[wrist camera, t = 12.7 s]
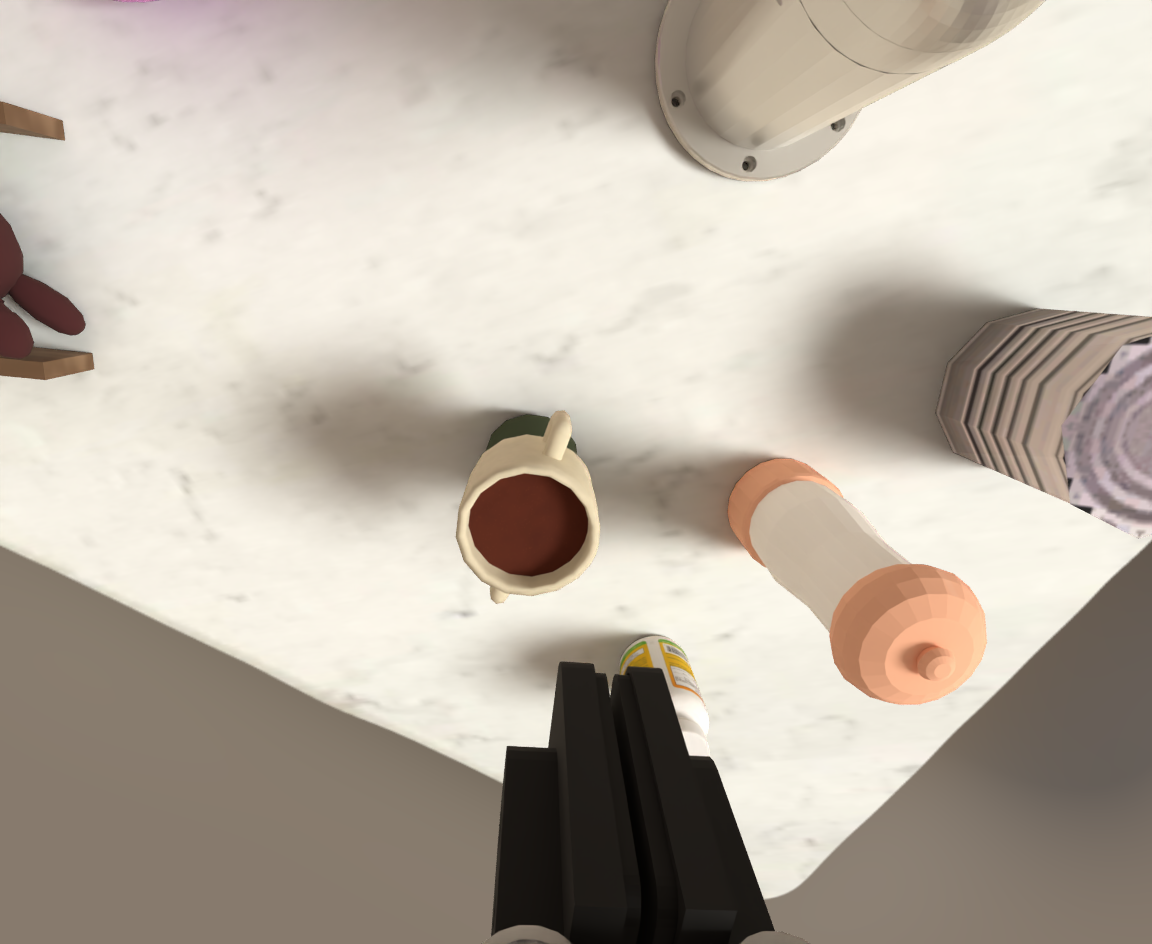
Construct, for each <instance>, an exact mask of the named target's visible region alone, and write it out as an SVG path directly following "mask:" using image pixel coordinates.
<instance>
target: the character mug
mask: <svg viewBox="0 0 1152 944" xmlns="http://www.w3.org/2000/svg"><path fill="white" fill-rule="evenodd" d="M571 433H572V427H571V421H570V416H569V415H568V414H567V413H566V412H565V411H556V412H555V413H554V414H553V415H552V416H551V418H548V417H544V416H536V415H528V414H526V415H523V416H519V417H516V418H513V419H510V420H506V421H505V422H504V423H503V424H502V425H501V426H500V427H499V428H498V429H497V430H496V431H495V432H494V433H493V434H492V435H491V438H490V440H489V443H488V446H487V449H486V452H484V453H483V454H482V456H481V457H480V459H479V461H478V462H477V464H476V466H475V467H474V469H473V471H472V472H471V474H470V477H469V480H468V483H467V486H466V489H465V492H464V495H463V498H462V500H461V503H460V506H459V512H458V521H457V530H456V539H457V542H458V545H459V548H460V551H461V554H462V557H463V560H464V562H465V563H466V564H467V565H468V566H469V568H470V569H471V570H472V571H473V572H474V573H475V574H476V576H477V577H478V578H479V579H480V580H481V581H482V582H484V583H486V584H488V585H490V595H491V599H492V600H493V601H494V602H495V603H496V604H499V603H503V602H504V601H505V600H506V599H507V597H508V596H509V594H517V595H526V596H534V595H539V594H543V593H548V592H553V591H557V590H559V589H561V588H562V587H564V586H566V585H567V584H569V583H571V582H573V581H574V580H576V579H578V578H579V577H580V576H581V574H582V573H583V572H584V571H585V570H586V569H587V568H588V567H589V566H590V564H591V562H592V560H593V559H594V557H595V555H596V552H597V549H598V545H599V536H600V522H599V518H598V508H597V503H596V498H595V494H594V491H593V488H592V482H591V477H590V474H589V471H588V469H587V467H586V465H585V464H584V463H583V461H582V460H581V459H580V458H579V457H578V456H577V451H576V444H575V442H574V441H573V439H572V438H571Z"/></svg>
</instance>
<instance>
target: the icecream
mask: <svg viewBox="0 0 1152 944" xmlns="http://www.w3.org/2000/svg"><path fill="white" fill-rule="evenodd" d="M22 273H23V254H22V252H21V249H20V246H19V244H18V242H17V239H16V237H15V235H14V232H13V230H12V228H11V226H10V224H9V223H8V222H7V221H6V219H5V218H4V217H3V216H2V215H1V214H0V355H1V356H3V357H8V358H16V359H22V358H24V357H26V356H28V355H29V354H30V353H31V350H32V347H33V344H34V341H33V338H32V335H31V333H30V330H29V327H28V326H27V325H26V323H25V322H24V321H23V320H22V319H21V318H20V317H19V316H18V315H17V314H16V313H14V312H12V311H11V310H10V309H9V308H7V307H6V306H5V305H4V301H3V300H2V298H3V297H5V296H6V295H7V294H8V293H9V294H10V296H11V297H12V298H13V299H14V301H15V302H16V303H17V304H19V305H20V306H21V307H22V308H23V309H25V310H26V311H27V312H28V313H29V314H30V315H32V316H33V317H34V318H35V319H36V320H38V321H40V322H42V323H43V324H45V325H47V326H49V327H50V328H52V329H54V330H56V331H57V332H60V333H63V334H67V335H77V334H79V333H81V332H82V331H83V330H84V328H85V321H84V318H83V315H82V314H81V313H80V311H79V310H78V309H77V308H76V307H75V306H74V305H73V304H72V303H71V301H70V300H69V299H68V298H66V297H65V296H63V295H62V294H60V293H59V292H57V291H55V290H54V289H52V288H51V287H49V286H47V285H46V284H44V283H42V282H40V281H38V280H35V279H33V278H30V277H28V276H26V275H23V274H22Z"/></svg>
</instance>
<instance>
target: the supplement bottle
mask: <svg viewBox="0 0 1152 944" xmlns="http://www.w3.org/2000/svg"><path fill="white" fill-rule="evenodd" d="M628 666H637V667H652V668H661V669H662V670H663V672H664V675H665V678H666V682H667V685H668V688H669V691H670V695H671V698H672V701H673V704H674V708H675V711H676V714H677V717H678V721H679V724H680V727H681V730H682V734H683V737H684V740H685V743H686V747H687V750H688V753H689V755H691V756H709V754H710V752H709V746H708V743H707V739H706V735H707V732H708V728H709V717H708V713H707V710H706V707H705V704H704V701H703V699H702V696H701V694H700V691H699V688H698V686H697V683H696V680H695V678H694V675H693V672H692V670H691V667H690V664H689V662H688V659H687V657H686V655H685V653H684V651H683V649H682V648H681V647H680V646H679V645H678V644H677V643H676V642H675V641H673V640H671V639H669V638H667V637H663V636H648V637H645V638H642V639H639V640H637V641H635V642H634V643H632V644H631V645H630V646H629V647H628V648H627V649H626V650H625V651H624V653H623V655H622V657H621V660H620V665H619V672H620V675H625V671H626V669H627V667H628Z"/></svg>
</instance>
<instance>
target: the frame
mask: <svg viewBox="0 0 1152 944" xmlns="http://www.w3.org/2000/svg"><path fill="white" fill-rule="evenodd" d="M0 132H5V133H13V134H20V135H28V136H35V137H43V138H50V139H58V140H65V136H64V129H63V121H62V120H59V119H56V118H52V117H49V116H46V115H43V114H40V113H37V112H33V111H30V110H27V109H24V108H21V107H17V106H14V105H11V104H8V103H5V102H0ZM93 369H94V363H93V355H92V353H85V352H75V351H66V350H56V349H46V348H37V347H32V350H31V353H30V354H29V355H28V356H26V357H24V358H22V359H16V358H8V357H3V356H1V355H0V375H1V376H11V377H21V378H31V379H41V380H47V379H52V378H56V377H61V376H66V375H70V374H75V373H79V372H84V371H88V370H93Z"/></svg>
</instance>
